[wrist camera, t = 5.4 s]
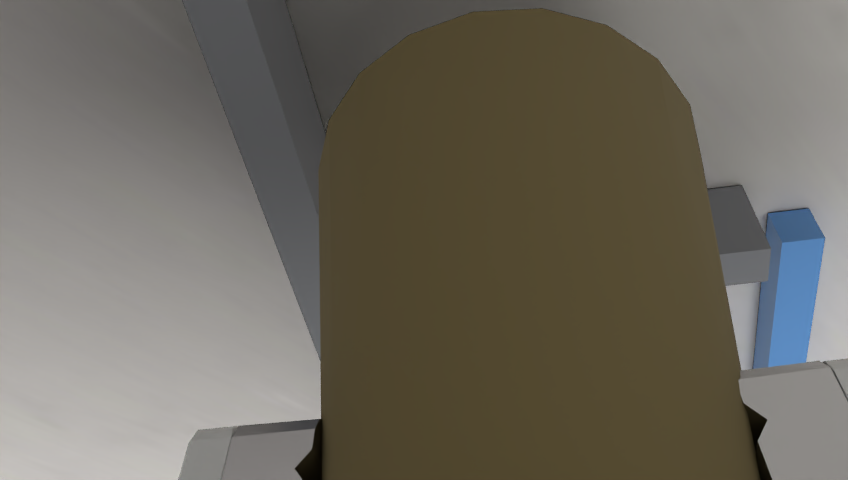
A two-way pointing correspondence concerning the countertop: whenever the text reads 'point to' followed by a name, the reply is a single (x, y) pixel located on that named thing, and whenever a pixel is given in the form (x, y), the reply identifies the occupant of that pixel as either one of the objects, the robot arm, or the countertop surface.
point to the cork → (522, 265)
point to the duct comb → (303, 144)
